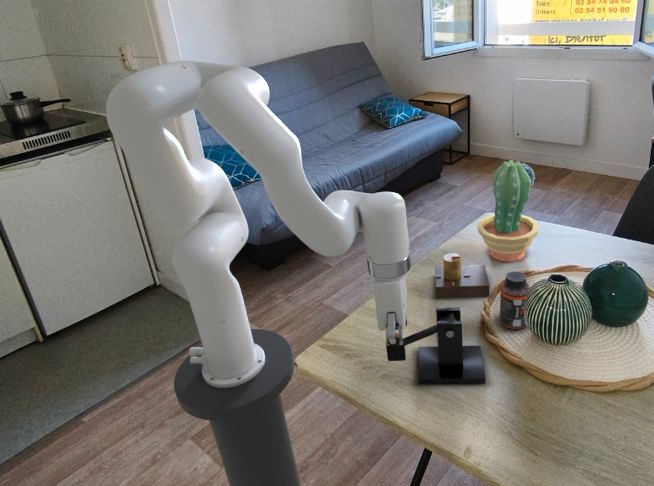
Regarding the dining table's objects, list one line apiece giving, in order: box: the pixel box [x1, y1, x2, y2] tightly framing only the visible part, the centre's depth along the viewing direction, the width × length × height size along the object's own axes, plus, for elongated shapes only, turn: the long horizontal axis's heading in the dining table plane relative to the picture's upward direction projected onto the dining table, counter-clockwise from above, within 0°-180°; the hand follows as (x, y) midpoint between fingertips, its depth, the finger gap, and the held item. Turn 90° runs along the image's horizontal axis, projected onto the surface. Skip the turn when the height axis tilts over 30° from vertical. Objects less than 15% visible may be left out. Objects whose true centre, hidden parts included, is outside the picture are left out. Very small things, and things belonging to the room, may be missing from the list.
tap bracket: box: [418, 306, 487, 385], centre depth 93 cm, size 12×9×12 cm
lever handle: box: [396, 313, 458, 347], centre depth 92 cm, size 13×5×2 cm, turn 84°
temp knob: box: [442, 252, 462, 280], centre depth 117 cm, size 4×4×5 cm
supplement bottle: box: [499, 270, 532, 330], centre depth 103 cm, size 6×6×11 cm
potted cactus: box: [476, 159, 540, 263], centre depth 126 cm, size 15×15×25 cm
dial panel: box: [434, 264, 490, 299], centre depth 118 cm, size 12×9×3 cm
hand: (398, 341), depth 94 cm, fingers open, 9 cm apart
